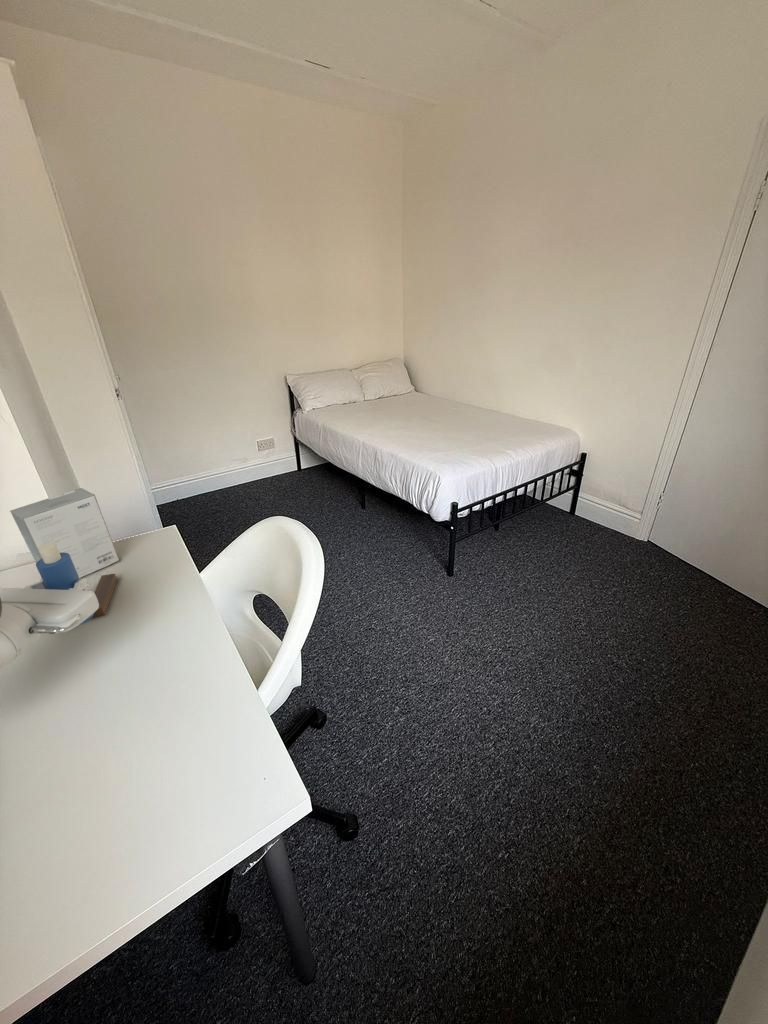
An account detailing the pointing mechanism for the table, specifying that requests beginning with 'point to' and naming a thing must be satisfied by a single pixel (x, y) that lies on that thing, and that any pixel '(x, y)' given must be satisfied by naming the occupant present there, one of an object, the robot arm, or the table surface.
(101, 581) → the walnut bar
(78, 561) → the hard drive box
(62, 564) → the blue bottle
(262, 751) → the table surface
